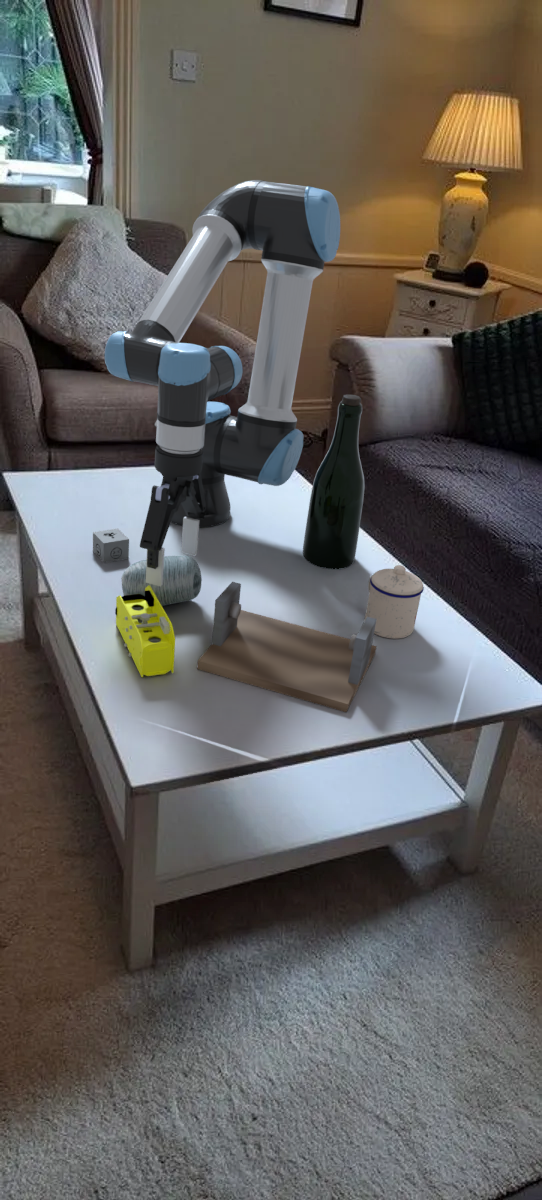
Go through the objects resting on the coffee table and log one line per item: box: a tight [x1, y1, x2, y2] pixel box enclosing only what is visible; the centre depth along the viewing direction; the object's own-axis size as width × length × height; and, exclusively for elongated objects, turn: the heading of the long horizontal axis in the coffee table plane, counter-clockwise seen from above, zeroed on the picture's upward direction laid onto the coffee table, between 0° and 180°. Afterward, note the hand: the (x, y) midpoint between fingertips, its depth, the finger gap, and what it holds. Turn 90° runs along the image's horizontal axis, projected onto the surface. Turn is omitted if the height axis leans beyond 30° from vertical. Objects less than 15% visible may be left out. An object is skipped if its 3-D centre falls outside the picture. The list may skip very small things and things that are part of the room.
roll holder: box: [196, 581, 377, 713], centre depth 135 cm, size 18×24×10 cm
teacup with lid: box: [364, 564, 425, 640], centre depth 148 cm, size 12×9×12 cm
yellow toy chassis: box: [114, 585, 176, 678], centre depth 133 cm, size 16×6×8 cm, turn 23°
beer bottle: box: [302, 394, 365, 570], centre depth 163 cm, size 10×10×33 cm
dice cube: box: [92, 528, 130, 564], centre depth 160 cm, size 5×5×5 cm
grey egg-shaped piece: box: [120, 555, 203, 607], centre depth 146 cm, size 14×10×10 cm
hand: (172, 568), depth 145 cm, fingers open, 13 cm apart
